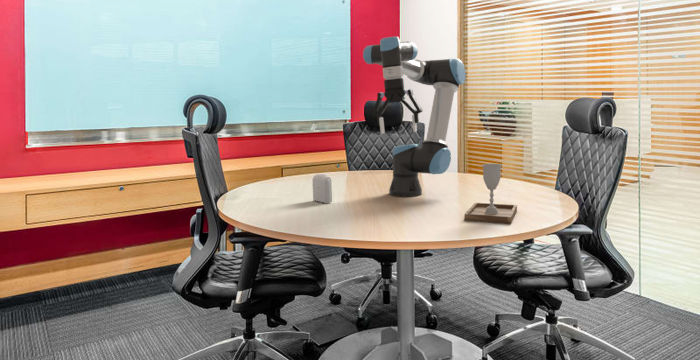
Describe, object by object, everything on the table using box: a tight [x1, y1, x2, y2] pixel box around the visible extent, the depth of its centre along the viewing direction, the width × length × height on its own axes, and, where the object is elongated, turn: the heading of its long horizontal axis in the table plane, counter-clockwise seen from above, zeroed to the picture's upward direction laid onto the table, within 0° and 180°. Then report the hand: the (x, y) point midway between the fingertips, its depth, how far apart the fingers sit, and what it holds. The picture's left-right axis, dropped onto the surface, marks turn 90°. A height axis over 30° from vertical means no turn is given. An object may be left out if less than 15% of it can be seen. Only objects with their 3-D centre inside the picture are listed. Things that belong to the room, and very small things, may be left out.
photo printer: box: [311, 173, 333, 204], centre depth 221 cm, size 10×4×12 cm, turn 39°
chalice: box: [481, 163, 503, 214], centre depth 187 cm, size 7×7×18 cm
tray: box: [463, 202, 518, 225], centre depth 189 cm, size 22×16×2 cm
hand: (398, 132), depth 200 cm, fingers open, 13 cm apart
